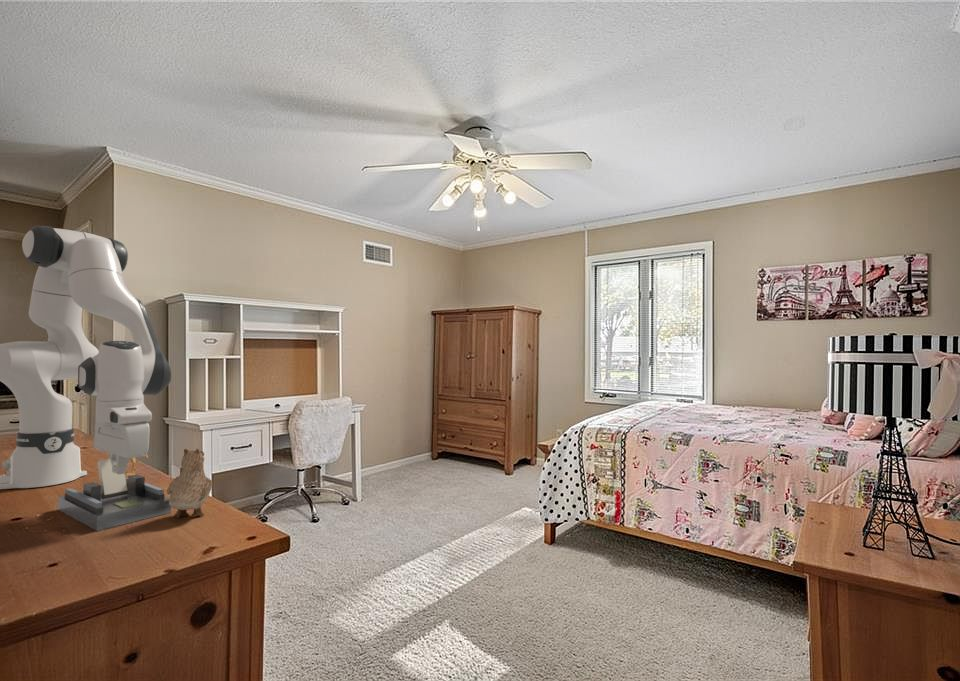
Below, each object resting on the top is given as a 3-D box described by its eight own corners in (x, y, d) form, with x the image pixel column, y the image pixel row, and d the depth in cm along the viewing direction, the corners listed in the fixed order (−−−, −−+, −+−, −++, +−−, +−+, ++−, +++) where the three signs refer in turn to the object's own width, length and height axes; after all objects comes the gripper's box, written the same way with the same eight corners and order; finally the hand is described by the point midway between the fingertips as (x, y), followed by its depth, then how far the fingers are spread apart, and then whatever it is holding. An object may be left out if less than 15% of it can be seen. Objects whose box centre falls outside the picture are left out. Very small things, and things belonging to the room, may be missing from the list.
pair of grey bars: (64, 497, 112) (64, 488, 113) (129, 484, 123) (129, 476, 123) (97, 513, 102) (97, 503, 102) (164, 498, 112) (164, 489, 112)
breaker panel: (58, 509, 113) (58, 479, 113) (128, 495, 125) (128, 467, 125) (96, 531, 100) (97, 496, 100) (171, 512, 112) (171, 481, 112)
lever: (101, 500, 111) (96, 462, 113) (125, 494, 115) (120, 458, 117) (104, 498, 110) (98, 460, 112) (128, 493, 114) (123, 456, 116)
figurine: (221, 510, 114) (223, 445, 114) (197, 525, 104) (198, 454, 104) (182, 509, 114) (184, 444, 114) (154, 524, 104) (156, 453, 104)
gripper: (85, 410, 115) (84, 469, 115) (122, 417, 104) (121, 482, 103) (117, 407, 120) (116, 464, 120) (155, 413, 109) (154, 476, 108)
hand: (119, 473), depth 111 cm, fingers closed
